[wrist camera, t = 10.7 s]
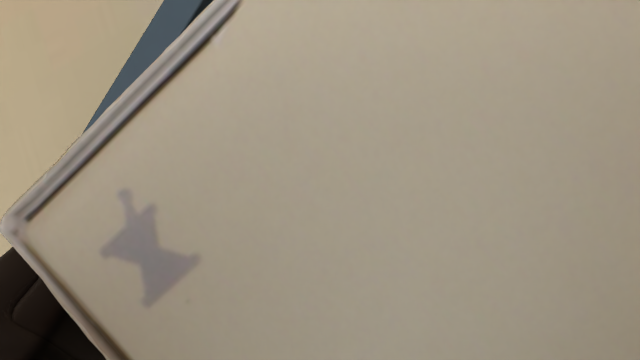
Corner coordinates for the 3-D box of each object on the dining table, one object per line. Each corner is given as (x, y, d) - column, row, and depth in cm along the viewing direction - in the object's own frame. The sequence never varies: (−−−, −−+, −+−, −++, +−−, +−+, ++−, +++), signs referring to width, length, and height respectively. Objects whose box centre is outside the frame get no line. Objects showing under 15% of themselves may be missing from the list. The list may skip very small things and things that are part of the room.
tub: (456, 428, 16) (484, 544, 12) (130, 184, 17) (37, 205, 12) (752, 85, 14) (927, 64, 10) (366, -181, 15) (358, -319, 10)
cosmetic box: (384, 266, 15) (375, 742, 3) (291, 157, 15) (-47, 237, 3) (551, 132, 14) (1403, 120, 2) (451, 16, 14) (770, -577, 2)
